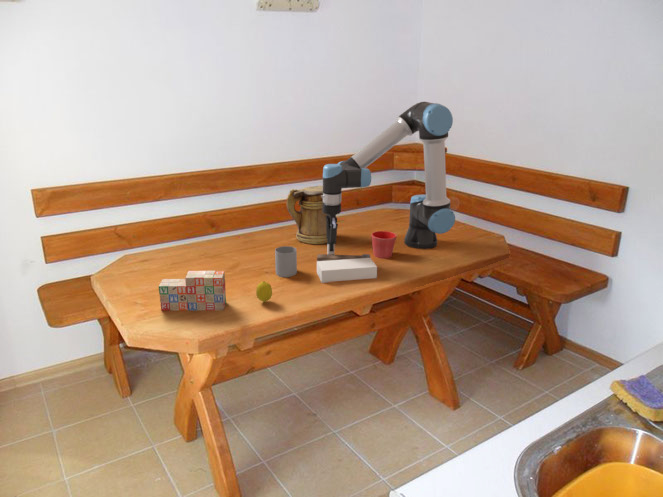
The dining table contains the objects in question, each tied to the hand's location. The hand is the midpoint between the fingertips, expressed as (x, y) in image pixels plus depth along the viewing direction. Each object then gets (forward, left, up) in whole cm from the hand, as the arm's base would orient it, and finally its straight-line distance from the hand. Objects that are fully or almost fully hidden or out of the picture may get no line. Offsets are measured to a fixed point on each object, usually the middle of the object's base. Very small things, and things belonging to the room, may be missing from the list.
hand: (330, 257), depth 223 cm
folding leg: (-5, +4, -2) cm, 7 cm away
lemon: (+31, +32, -3) cm, 45 cm away
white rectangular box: (-3, +14, -3) cm, 15 cm away
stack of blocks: (+55, +31, -3) cm, 63 cm away
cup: (+20, +7, -3) cm, 21 cm away
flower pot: (-24, -5, -3) cm, 25 cm away
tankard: (+3, -32, -3) cm, 32 cm away
